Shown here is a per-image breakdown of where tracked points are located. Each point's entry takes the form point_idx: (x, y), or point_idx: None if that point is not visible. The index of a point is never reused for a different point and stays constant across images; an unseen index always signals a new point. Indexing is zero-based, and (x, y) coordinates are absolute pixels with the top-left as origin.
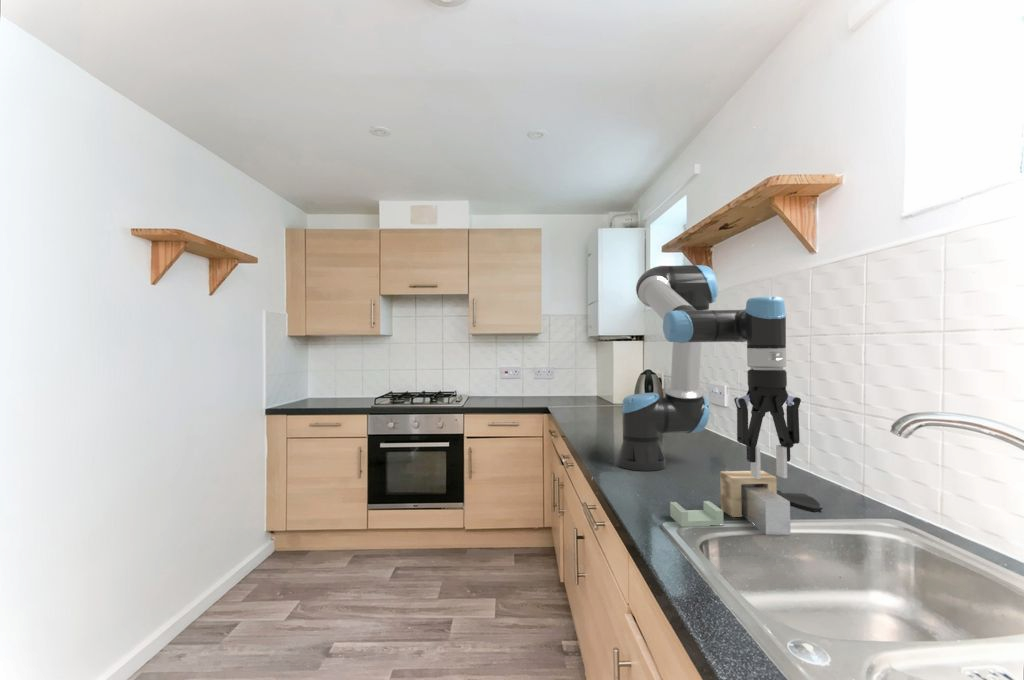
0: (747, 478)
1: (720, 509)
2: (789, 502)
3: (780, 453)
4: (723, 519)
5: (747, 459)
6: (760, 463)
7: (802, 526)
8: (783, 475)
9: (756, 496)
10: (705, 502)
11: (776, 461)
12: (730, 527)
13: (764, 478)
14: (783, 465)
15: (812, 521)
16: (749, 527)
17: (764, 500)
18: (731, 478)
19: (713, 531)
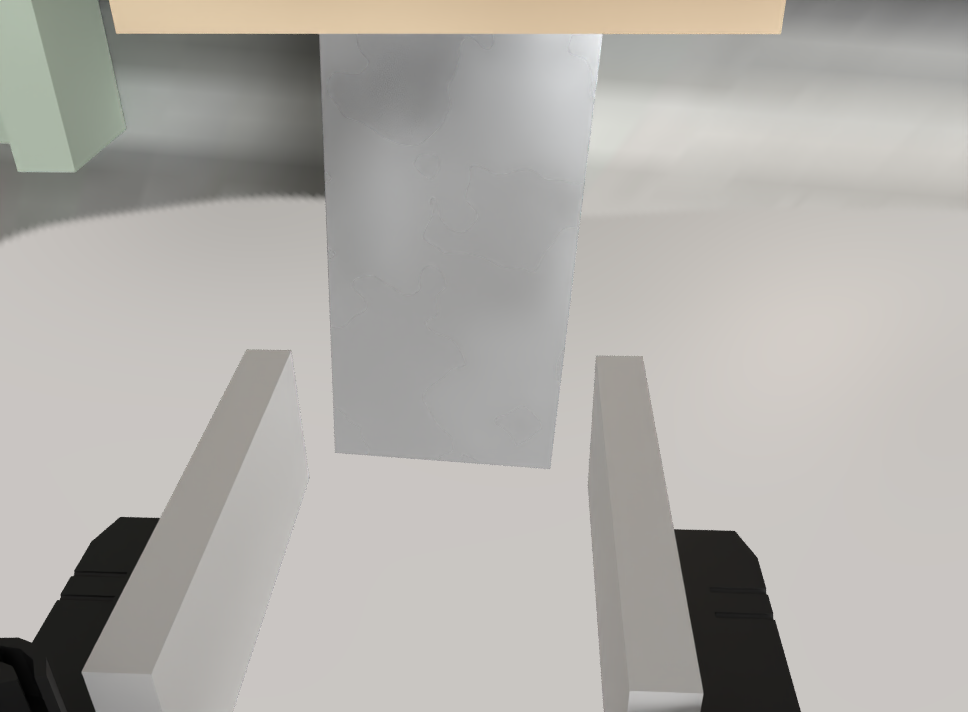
0: (342, 28)
1: (57, 131)
2: (545, 464)
3: (609, 678)
4: (106, 145)
5: (103, 545)
6: (262, 618)
7: (747, 187)
8: (589, 500)
9: (330, 301)
10: None
11: (608, 471)
12: (173, 161)
13: (595, 30)
14: (597, 594)
15: (925, 84)
16: (320, 173)
17: (341, 427)
18: (113, 6)
19: (27, 226)
